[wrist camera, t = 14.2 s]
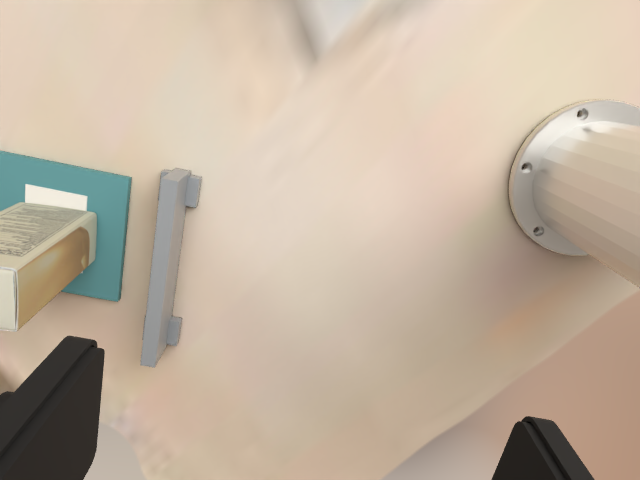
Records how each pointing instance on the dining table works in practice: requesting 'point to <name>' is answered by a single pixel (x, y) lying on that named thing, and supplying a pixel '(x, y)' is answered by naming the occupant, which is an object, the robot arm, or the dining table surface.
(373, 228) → the dining table surface
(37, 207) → the skincare box
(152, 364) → the grey drawer handle
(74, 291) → the pad
